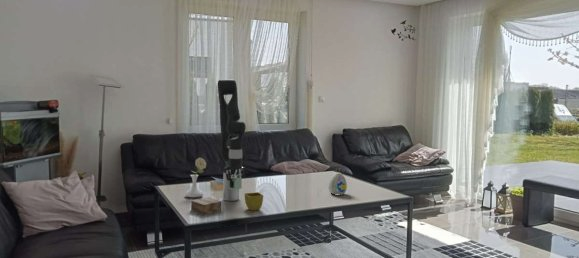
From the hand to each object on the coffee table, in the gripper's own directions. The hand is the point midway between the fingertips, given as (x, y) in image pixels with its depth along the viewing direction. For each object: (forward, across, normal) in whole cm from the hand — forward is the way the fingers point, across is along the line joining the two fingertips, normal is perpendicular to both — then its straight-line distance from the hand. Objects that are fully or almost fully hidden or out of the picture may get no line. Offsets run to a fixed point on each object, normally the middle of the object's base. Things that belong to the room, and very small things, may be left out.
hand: (235, 186), depth 245 cm
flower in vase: (+15, -9, -42) cm, 45 cm away
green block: (+1, 0, 0) cm, 1 cm away
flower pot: (+15, -10, +5) cm, 19 cm away
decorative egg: (+16, -77, +23) cm, 82 cm away
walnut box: (+15, +10, -13) cm, 22 cm away
